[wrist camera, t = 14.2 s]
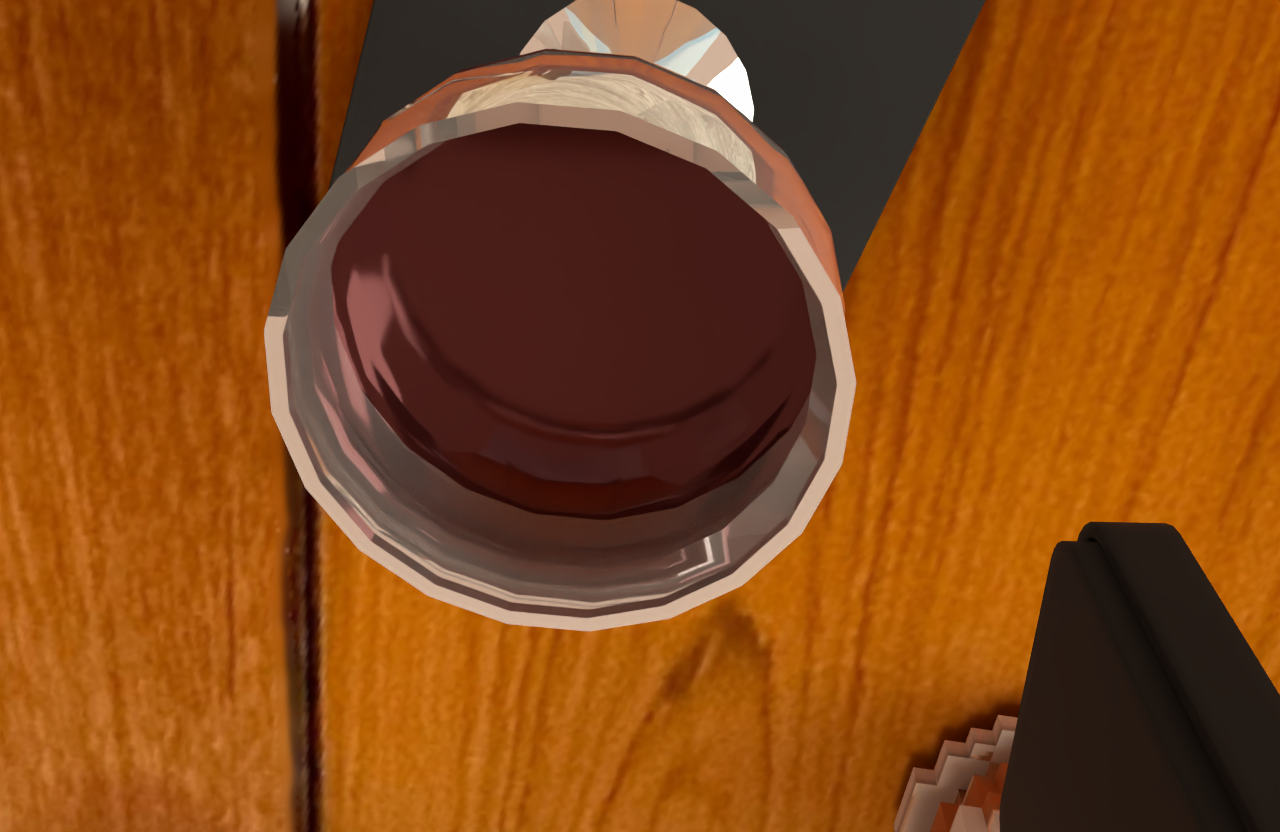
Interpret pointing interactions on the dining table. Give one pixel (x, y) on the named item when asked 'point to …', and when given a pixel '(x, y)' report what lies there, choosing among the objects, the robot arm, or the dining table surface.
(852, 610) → the dining table surface
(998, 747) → the decorative ornament
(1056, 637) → the robot arm
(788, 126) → the mat
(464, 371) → the wineglass
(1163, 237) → the dining table surface
